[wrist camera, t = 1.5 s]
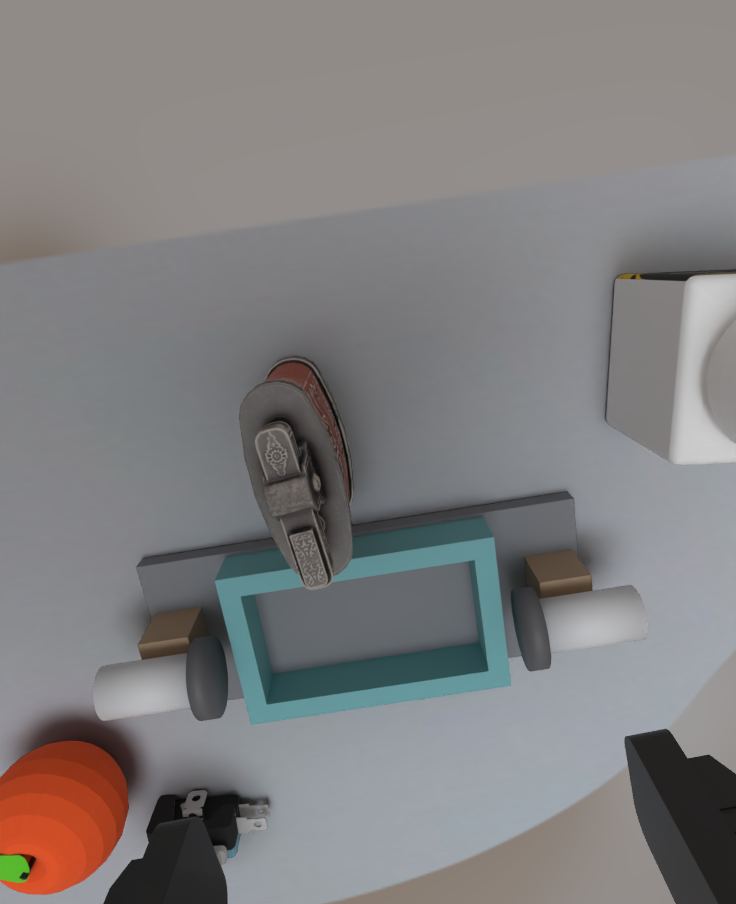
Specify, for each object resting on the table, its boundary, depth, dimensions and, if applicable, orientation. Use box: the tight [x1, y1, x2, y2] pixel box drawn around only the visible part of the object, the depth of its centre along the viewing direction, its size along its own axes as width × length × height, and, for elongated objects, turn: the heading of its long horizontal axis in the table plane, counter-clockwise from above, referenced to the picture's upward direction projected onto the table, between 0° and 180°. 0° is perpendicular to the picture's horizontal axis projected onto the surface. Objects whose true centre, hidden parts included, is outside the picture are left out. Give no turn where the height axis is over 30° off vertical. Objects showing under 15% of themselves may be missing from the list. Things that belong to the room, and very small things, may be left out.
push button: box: [146, 790, 270, 865], centre depth 33 cm, size 7×5×10 cm
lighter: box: [239, 356, 354, 590], centre depth 27 cm, size 8×3×10 cm, turn 15°
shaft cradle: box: [93, 492, 648, 724], centre depth 30 cm, size 24×8×7 cm, turn 99°
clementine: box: [0, 741, 129, 895], centre depth 33 cm, size 8×7×7 cm
